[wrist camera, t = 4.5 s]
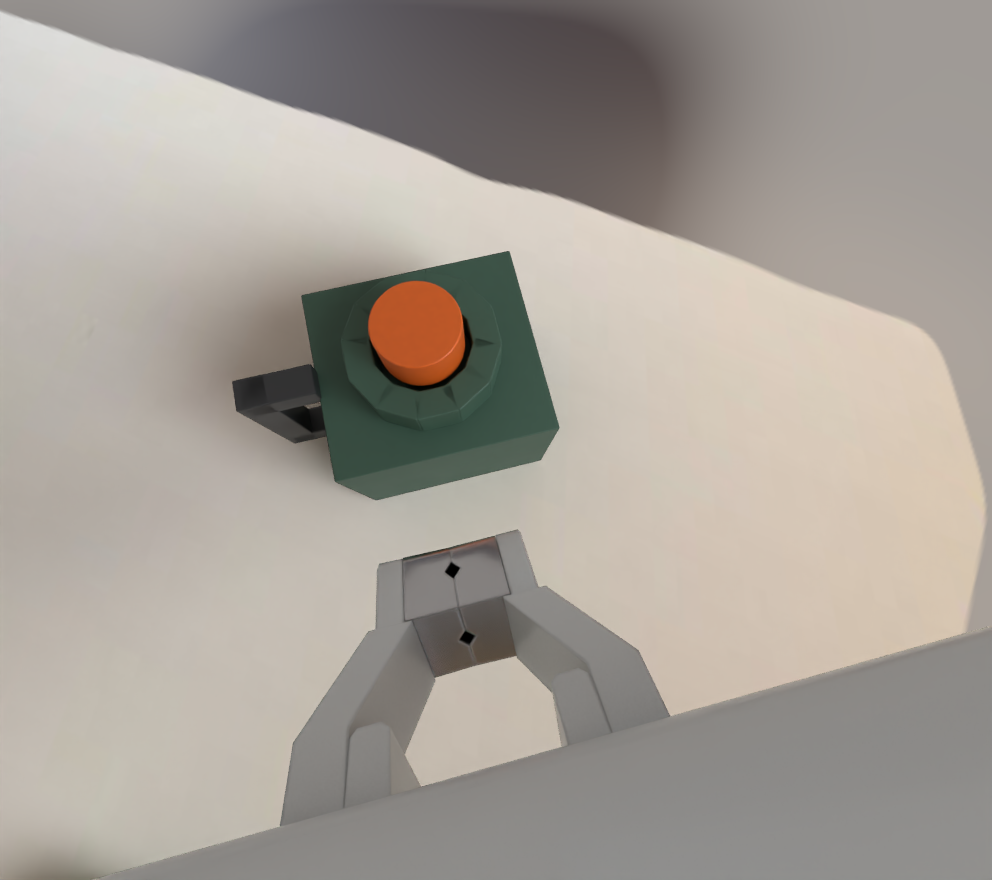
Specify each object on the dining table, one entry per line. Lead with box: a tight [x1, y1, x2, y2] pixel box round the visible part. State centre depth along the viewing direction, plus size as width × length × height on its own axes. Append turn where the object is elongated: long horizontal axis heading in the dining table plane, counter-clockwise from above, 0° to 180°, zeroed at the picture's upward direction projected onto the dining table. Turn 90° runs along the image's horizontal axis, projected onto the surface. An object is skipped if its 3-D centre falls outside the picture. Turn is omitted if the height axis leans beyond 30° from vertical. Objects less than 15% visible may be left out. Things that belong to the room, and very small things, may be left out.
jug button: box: [368, 281, 465, 386], centre depth 20 cm, size 4×4×2 cm
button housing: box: [301, 251, 559, 500], centre depth 26 cm, size 10×9×10 cm
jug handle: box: [232, 364, 327, 443], centre depth 25 cm, size 3×1×7 cm, turn 104°
